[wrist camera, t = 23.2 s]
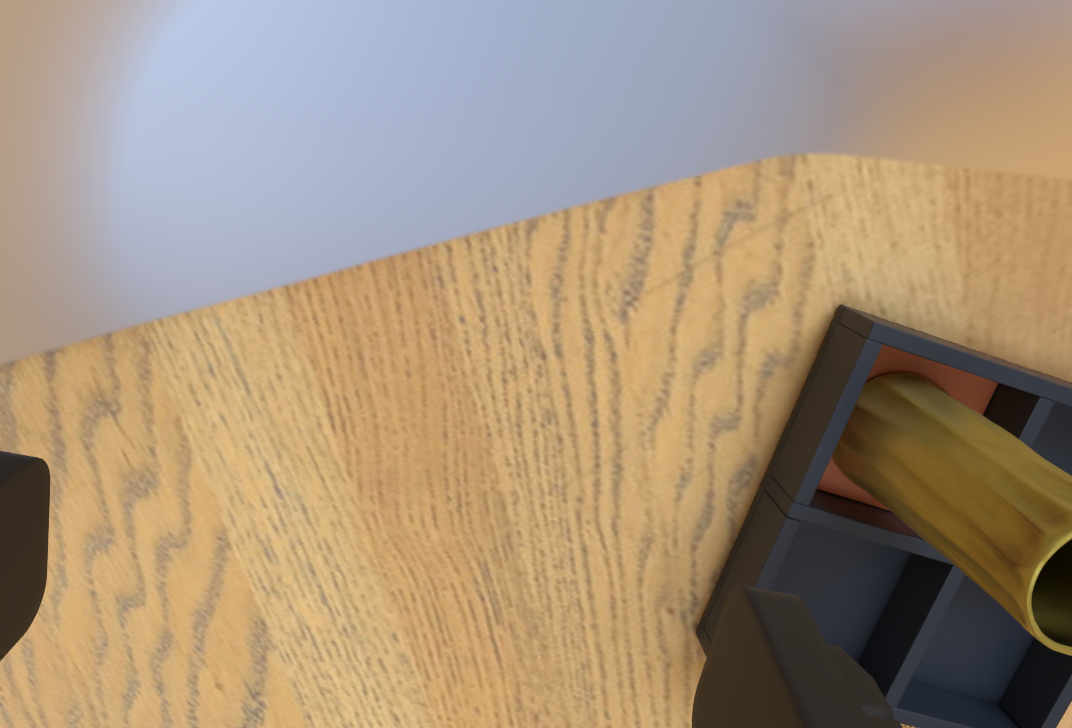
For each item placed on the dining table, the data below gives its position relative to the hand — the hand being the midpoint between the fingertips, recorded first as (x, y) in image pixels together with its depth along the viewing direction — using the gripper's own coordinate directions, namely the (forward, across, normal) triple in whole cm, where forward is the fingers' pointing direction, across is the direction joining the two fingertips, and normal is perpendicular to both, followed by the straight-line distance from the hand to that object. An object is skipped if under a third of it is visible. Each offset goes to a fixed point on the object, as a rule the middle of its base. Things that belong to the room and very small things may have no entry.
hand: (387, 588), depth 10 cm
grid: (+30, -25, +11) cm, 40 cm away
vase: (+29, -21, +6) cm, 36 cm away
